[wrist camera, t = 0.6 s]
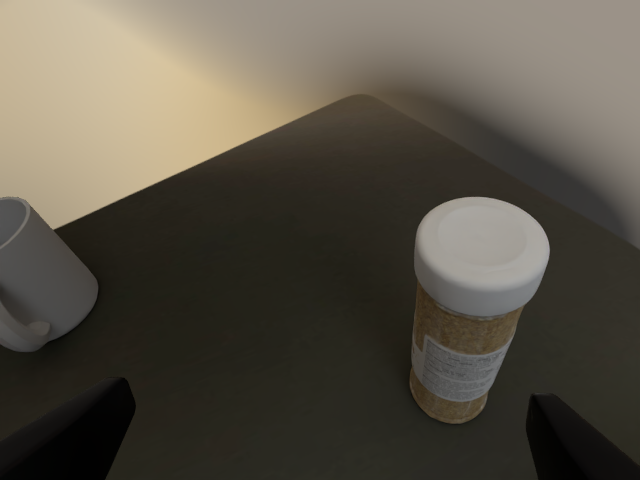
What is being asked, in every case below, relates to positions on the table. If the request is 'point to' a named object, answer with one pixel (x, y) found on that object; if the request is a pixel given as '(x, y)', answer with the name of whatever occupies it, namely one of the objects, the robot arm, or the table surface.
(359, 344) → the table surface
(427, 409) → the spice jar
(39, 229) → the cup
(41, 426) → the robot arm
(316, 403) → the table surface
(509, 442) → the table surface
